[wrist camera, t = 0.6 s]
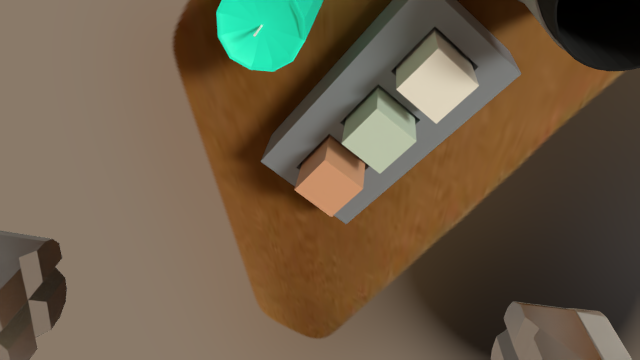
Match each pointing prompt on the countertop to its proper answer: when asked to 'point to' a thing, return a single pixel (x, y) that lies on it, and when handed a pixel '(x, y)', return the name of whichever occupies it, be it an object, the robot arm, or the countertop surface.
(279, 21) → the candle
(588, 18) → the grey black ceramic vase
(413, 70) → the key
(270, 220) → the countertop surface
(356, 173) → the key
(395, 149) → the key mid
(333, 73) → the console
